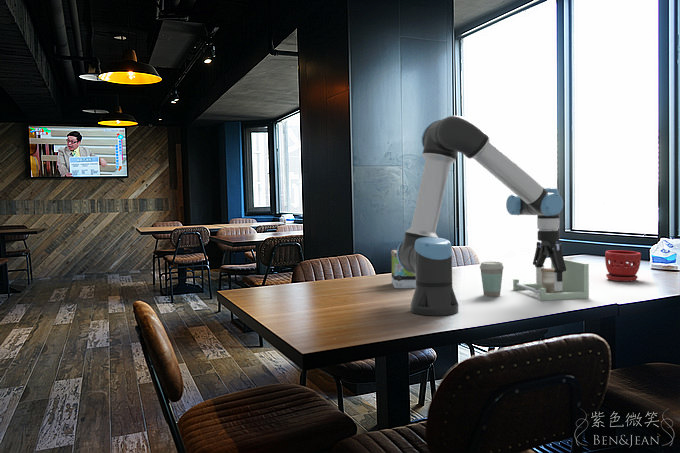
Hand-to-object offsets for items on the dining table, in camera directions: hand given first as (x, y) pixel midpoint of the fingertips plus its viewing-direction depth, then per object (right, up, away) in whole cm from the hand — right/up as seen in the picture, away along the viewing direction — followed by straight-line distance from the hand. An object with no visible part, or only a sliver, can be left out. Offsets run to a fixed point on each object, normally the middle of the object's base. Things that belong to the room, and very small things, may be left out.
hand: (548, 287), depth 197 cm
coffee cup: (-21, -3, 0) cm, 21 cm away
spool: (0, -2, 0) cm, 2 cm away
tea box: (-50, -3, +27) cm, 57 cm away
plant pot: (+41, 0, +25) cm, 48 cm away
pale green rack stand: (0, -2, 0) cm, 2 cm away
